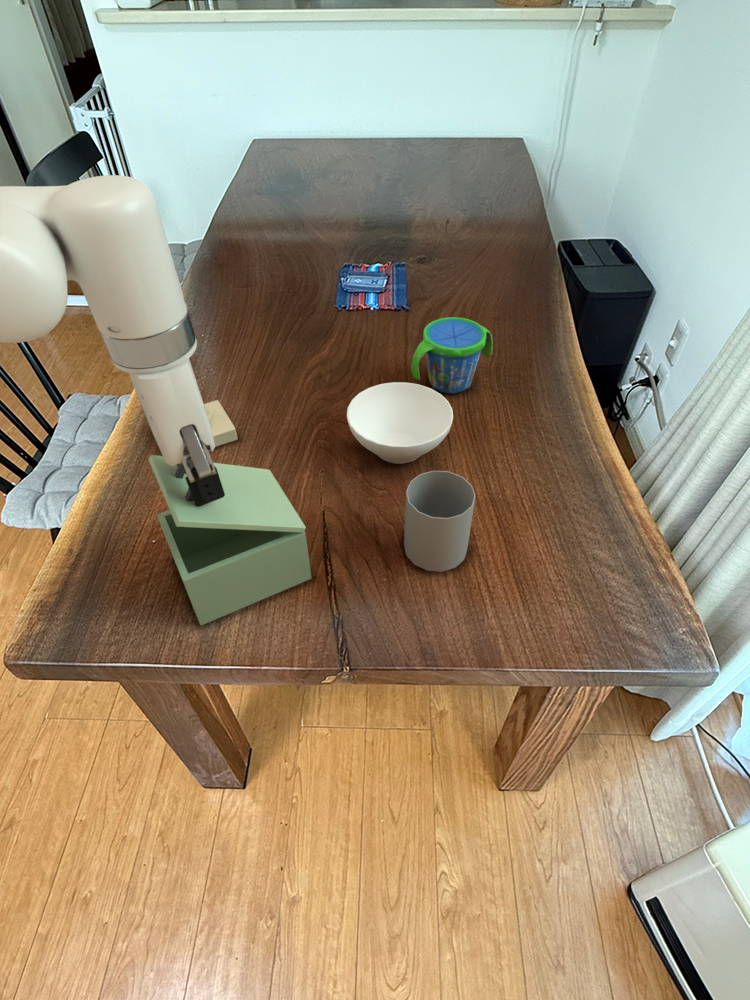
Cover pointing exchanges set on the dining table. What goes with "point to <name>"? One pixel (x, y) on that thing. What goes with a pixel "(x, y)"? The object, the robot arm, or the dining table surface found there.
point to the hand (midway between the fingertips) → (201, 482)
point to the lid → (228, 499)
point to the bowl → (399, 420)
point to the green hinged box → (234, 565)
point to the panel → (220, 424)
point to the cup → (438, 520)
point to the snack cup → (452, 352)
